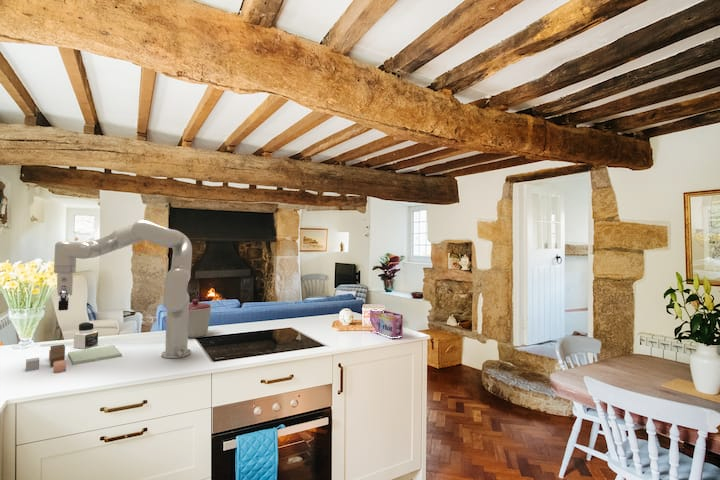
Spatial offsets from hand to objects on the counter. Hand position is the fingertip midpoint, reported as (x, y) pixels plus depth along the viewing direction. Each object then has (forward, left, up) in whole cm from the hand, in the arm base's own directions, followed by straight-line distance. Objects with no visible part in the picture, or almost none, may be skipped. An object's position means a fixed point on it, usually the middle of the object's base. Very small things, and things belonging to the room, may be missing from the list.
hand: (63, 308), depth 162 cm
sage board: (+2, -12, -24) cm, 27 cm away
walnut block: (-3, +2, -24) cm, 24 cm away
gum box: (-58, -148, -24) cm, 161 cm away
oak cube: (+7, +2, -24) cm, 25 cm away
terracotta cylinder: (-13, +2, -24) cm, 27 cm away
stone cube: (-3, +10, -24) cm, 26 cm away
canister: (+10, -60, -24) cm, 66 cm away
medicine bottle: (+22, -11, -24) cm, 35 cm away
